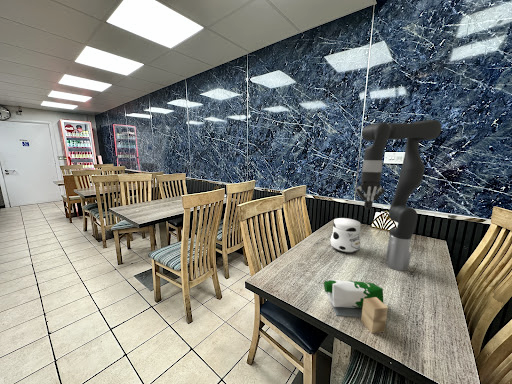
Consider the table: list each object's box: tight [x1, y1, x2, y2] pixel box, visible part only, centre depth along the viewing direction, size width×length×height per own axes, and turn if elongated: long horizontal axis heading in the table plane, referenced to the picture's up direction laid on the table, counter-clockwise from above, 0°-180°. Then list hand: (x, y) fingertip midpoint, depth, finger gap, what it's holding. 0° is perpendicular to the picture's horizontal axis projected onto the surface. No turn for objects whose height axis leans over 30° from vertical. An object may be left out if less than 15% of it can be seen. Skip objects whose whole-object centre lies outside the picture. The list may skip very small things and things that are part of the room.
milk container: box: [330, 217, 362, 254], centre depth 125 cm, size 17×17×18 cm
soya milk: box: [323, 279, 385, 308], centre depth 77 cm, size 9×9×20 cm
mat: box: [326, 292, 363, 318], centre depth 79 cm, size 16×15×1 cm
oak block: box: [360, 297, 389, 334], centre depth 68 cm, size 5×5×9 cm
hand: (367, 208), depth 90 cm, fingers closed
